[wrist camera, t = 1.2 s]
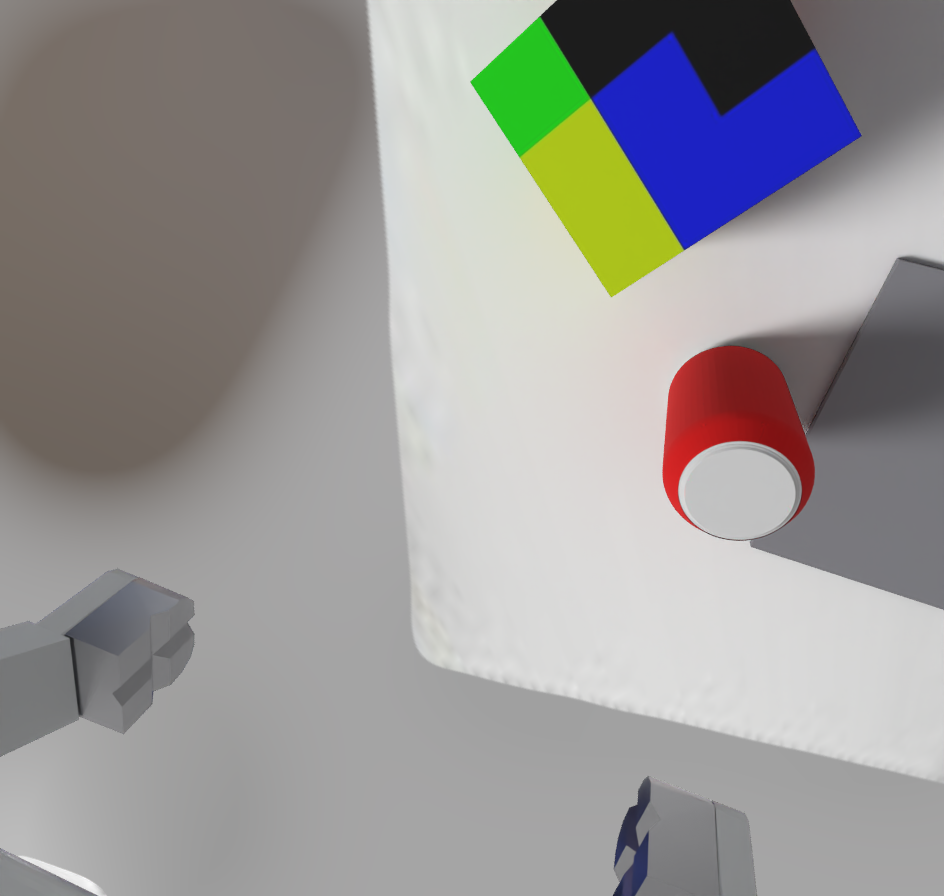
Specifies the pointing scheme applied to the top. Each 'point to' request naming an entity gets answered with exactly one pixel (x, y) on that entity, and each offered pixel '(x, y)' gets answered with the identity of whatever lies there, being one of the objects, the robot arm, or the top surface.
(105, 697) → the robot arm
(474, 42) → the top surface
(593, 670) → the top surface
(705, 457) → the beverage can
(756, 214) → the top surface
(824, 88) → the puzzle toy
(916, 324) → the mat
